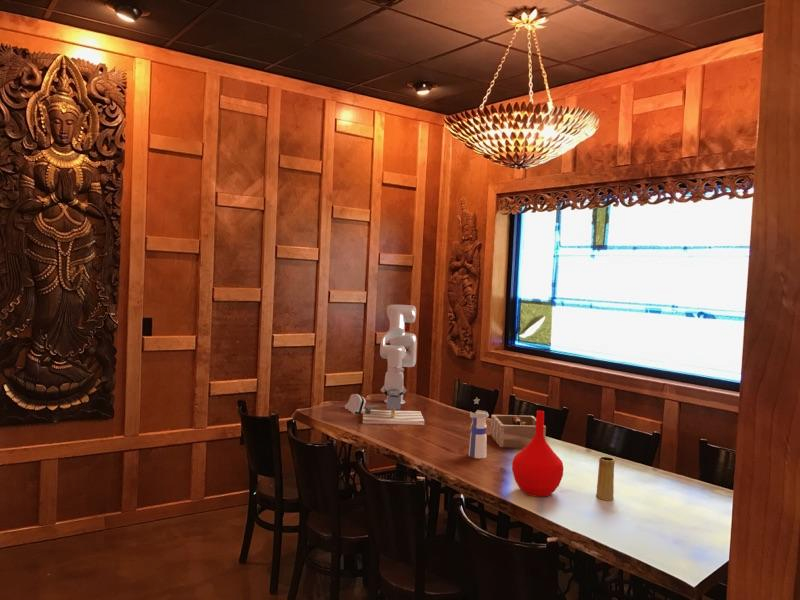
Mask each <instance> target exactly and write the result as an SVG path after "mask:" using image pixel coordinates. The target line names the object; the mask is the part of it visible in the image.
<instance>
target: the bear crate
mask: <svg viewBox="0 0 800 600" xmlns="http://www.w3.org/2000/svg"><path fill="white" fill-rule="evenodd" d="M511 416H513V417H517V416H518V415H516V414H515V415H513V414H491V415H490V417H491V418H490V434H489V435H490V436H491V437H492V439H493V440H494V441H495V442H496V444H497V445H498V446H499V448H521V449H524V448H525V447H526V446H527V445H528V444H529V443H530V442H531V441H532V439H533V438H534V436H535V428H536V417H535V416H533V415H519V416H520V417H519V418H520V421H521V422H527V424H526V425H513V422H512V418H511ZM546 430H547V426H546V425H544V434H543V435H544V438H545V439H546V434H547V433H546V432H547V431H546Z"/></svg>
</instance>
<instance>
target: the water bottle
mask: <svg viewBox="0 0 800 600" xmlns="http://www.w3.org/2000/svg"><path fill="white" fill-rule="evenodd" d="M473 401H474V405H475V404H477V405H479V402H480V399H479V398H478V397H476V398H475V399H473ZM489 416H490V415H489V413H488V411H486V410H480V409H476V411H475V412H472V411H470V413H469V417H470V419H472V422H471V424H470V427H469V430H470V435H469V438H470V439H469V446H468V447H469V450H468V457H470V458H473V459H485V458H487V436H488V435H487V427H488V426H487V421H486V420H487V418H488V417H489Z"/></svg>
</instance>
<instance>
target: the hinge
mask: <svg viewBox="0 0 800 600" xmlns="http://www.w3.org/2000/svg"><path fill="white" fill-rule="evenodd" d="M366 403H367V401H366V399H365V397H364V396H362V395H361V394H358V393H352V394H350V397H349V399H348V402H347V403H345V405H344V406H343V407H345V408H344V409H346V410H347V409H348V410H347V411H349V412H350V411H351V413H352V414H354V415H355V414H356V413H359V414H363V410H365V407H366V406H365V405H366Z"/></svg>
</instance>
